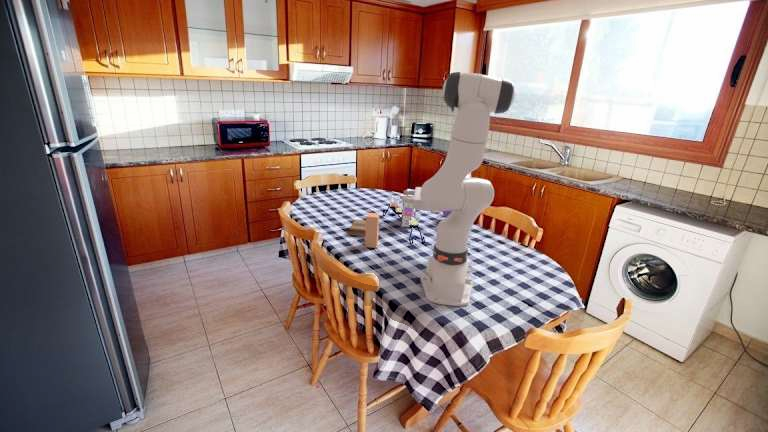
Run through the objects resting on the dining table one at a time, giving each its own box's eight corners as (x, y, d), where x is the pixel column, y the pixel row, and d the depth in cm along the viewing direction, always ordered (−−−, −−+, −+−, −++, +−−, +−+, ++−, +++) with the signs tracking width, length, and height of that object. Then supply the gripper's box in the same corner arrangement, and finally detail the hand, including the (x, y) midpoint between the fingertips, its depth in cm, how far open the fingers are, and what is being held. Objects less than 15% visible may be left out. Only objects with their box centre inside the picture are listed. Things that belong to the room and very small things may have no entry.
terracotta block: (376, 248, 163) (377, 217, 158) (364, 246, 163) (366, 216, 158) (378, 243, 167) (379, 213, 163) (366, 242, 168) (368, 212, 163)
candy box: (412, 228, 187) (415, 196, 181) (400, 227, 188) (403, 195, 182) (415, 219, 200) (418, 189, 194) (404, 218, 201) (407, 188, 195)
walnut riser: (374, 237, 174) (375, 231, 173) (349, 234, 175) (349, 228, 174) (378, 228, 185) (378, 222, 184) (354, 225, 186) (354, 220, 185)
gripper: (437, 185, 163) (405, 182, 165) (437, 199, 144) (401, 195, 146) (435, 198, 165) (404, 196, 167) (435, 214, 146) (400, 211, 148)
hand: (402, 196), depth 156 cm, fingers open, 8 cm apart
